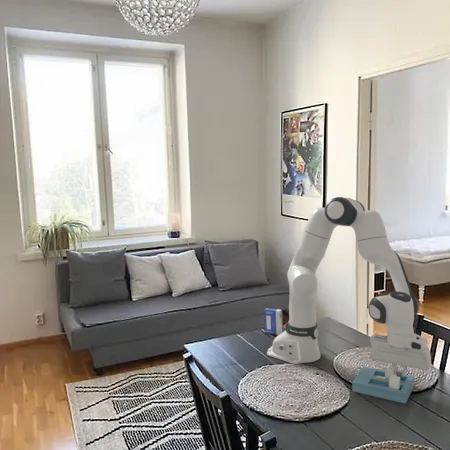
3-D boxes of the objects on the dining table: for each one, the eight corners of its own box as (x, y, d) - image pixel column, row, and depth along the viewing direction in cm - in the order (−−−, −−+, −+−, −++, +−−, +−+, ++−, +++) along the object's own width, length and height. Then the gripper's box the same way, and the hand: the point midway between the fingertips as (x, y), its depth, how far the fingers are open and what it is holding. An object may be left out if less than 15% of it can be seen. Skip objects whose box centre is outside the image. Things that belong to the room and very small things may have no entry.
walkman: (264, 333, 222) (264, 309, 220) (267, 331, 224) (266, 307, 223) (280, 335, 218) (279, 310, 217) (282, 333, 221) (281, 308, 219)
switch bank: (352, 391, 163) (352, 381, 163) (363, 375, 175) (363, 366, 174) (405, 403, 153) (405, 393, 153) (414, 385, 165) (414, 376, 165)
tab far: (385, 380, 165) (385, 367, 165) (387, 377, 168) (387, 363, 167) (393, 382, 164) (393, 368, 163) (395, 378, 166) (395, 365, 166)
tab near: (389, 391, 158) (389, 377, 157) (391, 387, 160) (391, 373, 160) (398, 393, 156) (398, 378, 156) (400, 389, 159) (400, 375, 158)
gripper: (367, 336, 165) (367, 372, 167) (429, 346, 154) (428, 385, 156) (372, 330, 170) (372, 366, 172) (432, 340, 159) (431, 378, 161)
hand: (399, 375), depth 164 cm, fingers closed
